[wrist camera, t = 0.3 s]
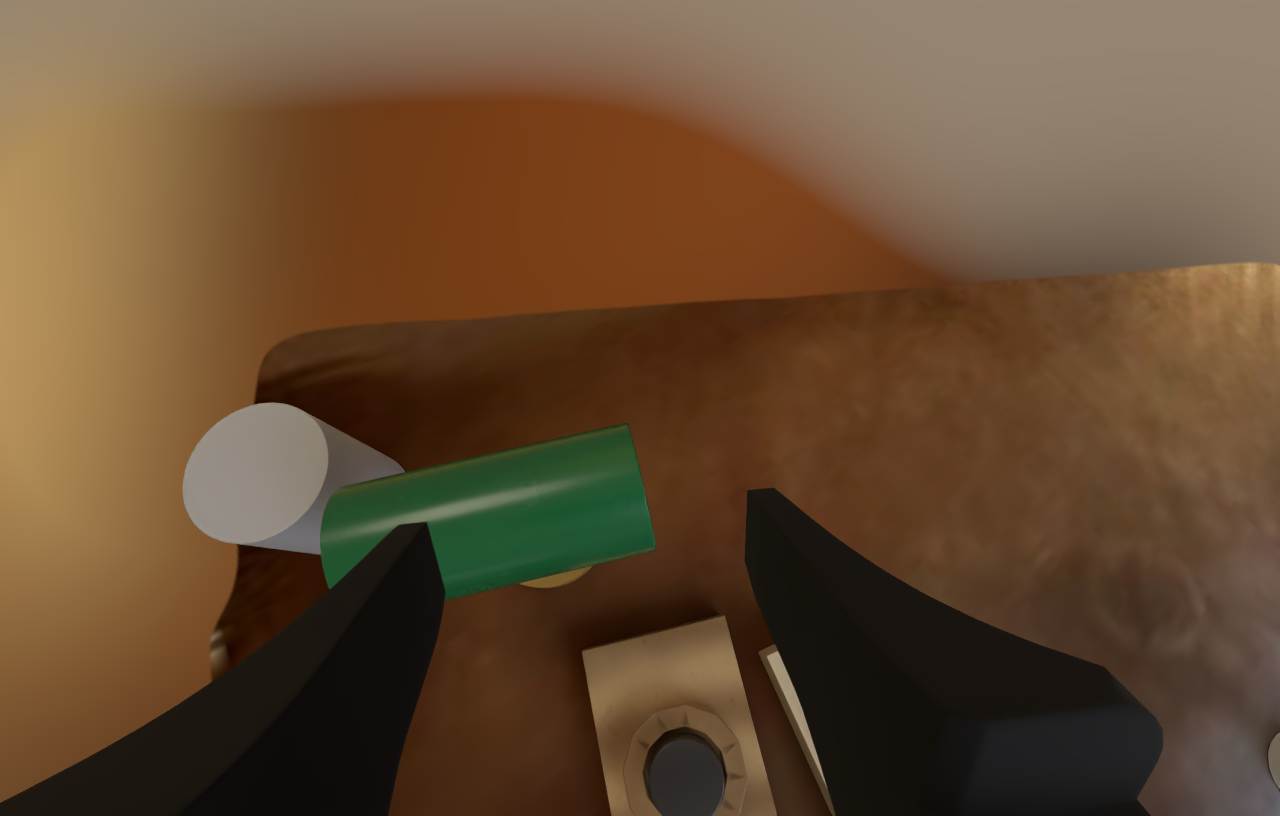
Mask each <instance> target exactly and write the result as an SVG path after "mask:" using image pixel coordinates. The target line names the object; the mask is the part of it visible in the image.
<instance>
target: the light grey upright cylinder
mask: <svg viewBox="0 0 1280 816" xmlns="http://www.w3.org/2000/svg"><path fill="white" fill-rule="evenodd" d="M404 472H405V470H404V469H403V468H402V467H401V466H400V465H399V464H398V463H397V462H396V461H394V460H393V459H391V458H389V457H388V456H386V455H384V454H382V453H380V452H378V451H376V450H375V449H373V448H371V447H369V446H367V445H365V444H363V443H362V442H360V441H358V440H356V439H354V438H352V437H350V436H349V435H347V434H345V433H343V432H341V431H339V430H337V429H336V428H334V427H332V426H330V425H328V424H326V423H325V422H323V421H321V420H319V419H317V418H315V417H313V416H312V415H310V414H308V413H306V412H304V411H302V410H300V409H298V408H296V407H293V406H290V405H287V404H282V403H262V404H256V405H252V406H248V407H245V408H242V409H240V410H238V411H236V412H233V413H232V414H230V415H228V416H227V417H225V418H223V419H222V420H221V421H219V422H218V423H217V424H216V425H215V426H213V427H212V428H211V429H210V430H209V431H208V432H207V433H206V434H205V435H204V436H203V438H202V439H201V440H200V441H199V443H198V444H197V446H196V447H195V449H194V451H193V453H192V454H191V457H190V459H189V461H188V463H187V466H186V470H185V474H184V479H183V499H184V503H185V507H186V510H187V512H188V514H189V516H190V518H191V520H192V521H193V522H194V524H195V525H196V526H197V527H198V528H199V529H200V530H201V531H202V532H204V533H205V534H207V535H208V536H210V537H212V538H214V539H217V540H219V541H222V542H228V543H234V544H242V545H250V546H258V547H265V548H273V549H281V550H289V551H297V552H305V553H312V554H320V555H321V549H320V531H321V522H322V517H323V513H324V509H325V507H326V504H327V502H328V500H329V498H330V497H331V495H332V494H333V493H334V492H335V491H336V490H337V489H339V488H340V487H342V486H346V485H351V484H355V483H360V482H364V481H368V480H373V479H377V478H382V477H386V476H391V475H395V474H400V473H404Z"/></svg>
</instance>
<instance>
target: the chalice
mask: <svg viewBox="0 0 1280 816" xmlns="http://www.w3.org/2000/svg"><path fill="white" fill-rule="evenodd" d="M1268 761H1269V768H1270V771H1271V774H1272V777H1273V779H1274V782H1275V783H1276V785H1277V786H1278V788H1279V789H1280V732H1279V733H1277V735H1276V736H1275V737H1274V739H1273V740H1272V741H1271V743H1270V747H1269V751H1268Z"/></svg>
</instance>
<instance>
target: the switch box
mask: <svg viewBox="0 0 1280 816" xmlns="http://www.w3.org/2000/svg"><path fill="white" fill-rule="evenodd" d="M582 656H583V661H584V667H585V673H586V678H587V684H588V689H589V695H590V700H591V706H592V711H593V717H594V722H595V728H596V733H597V739H598V744H599V750H600V756H601V761H602V767H603V772H604V778H605V783H606V789H607V794H608V800H609V805H610V811H611V816H662V815H661V813H660V812H659V811H658V810H657V808H656V807H655V805H654V803H653V801H652V798H651V795H650V791H649V764H650V759H651V756H652V754H653V752H654V750H655V748H656V747H657V746H658V744H659V743H660V742H661V741H662V740H663V739H665V738H666V737H668V736H670V735H672V734H675V733H679V732H689V733H693V734H696V735H698V736H700V737H702V738H703V739H705V740H706V741H707V742H708V743H709V744H710V745H711V747H712V748H713V749H714V751H715V753H716V755H717V757H718V759H719V761H720V764H721V766H722V769H723V773H724V781H725V786H724V794H723V798H722V801H721V803H720V806H719V807H718V809H717V811H716V812H715V813H714V815H713V816H777V812H776V808H775V804H774V801H773V797H772V793H771V789H770V785H769V782H768V778H767V774H766V770H765V766H764V763H763V759H762V755H761V751H760V747H759V744H758V740H757V736H756V732H755V728H754V725H753V721H752V717H751V713H750V709H749V706H748V702H747V698H746V694H745V690H744V687H743V683H742V679H741V675H740V671H739V668H738V664H737V660H736V656H735V652H734V649H733V645H732V641H731V637H730V633H729V630H728V626H727V622H726V618H725V616H724V615H716V616H712V617H708V618H704V619H700V620H696V621H692V622H688V623H684V624H680V625H676V626H672V627H668V628H664V629H660V630H656V631H652V632H648V633H644V634H640V635H636V636H632V637H628V638H624V639H620V640H616V641H612V642H608V643H604V644H600V645H596V646H592V647H588V648H585V649H584V650H583V651H582Z"/></svg>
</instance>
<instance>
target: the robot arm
mask: <svg viewBox="0 0 1280 816" xmlns="http://www.w3.org/2000/svg"><path fill="white" fill-rule="evenodd" d="M745 563H746V567H747V571H748V574H749V578H750V581H751V585H752V588H753V591H754V595H755V598H756V601H757V603H758V606H759V608H760V611H761V613H762V615H763V618H764V620H765V622H766V625H767V627H768V629H769V632H770V634H771V636H772V639H773V641H774V643H775V645H776V648H777V650H778V652H779V655H780V657H781V659H782V661H783V664H784V666H785V668H786V671H787V673H788V675H789V678H790V680H791V682H792V684H793V687H794V689H795V692H796V694H797V697H798V699H799V702H800V705H801V707H802V710H803V713H804V716H805V719H806V722H807V725H808V728H809V731H810V735H811V738H812V741H813V744H814V747H815V750H816V753H817V756H818V759H819V763H820V766H821V769H822V773H823V776H824V779H825V782H826V786H827V789H828V792H829V795H830V799H831V802H832V805H833V809H834V812H835V816H1150V814H1149V813H1148V812H1147V811H1146V810H1145V809H1144V807H1143V806H1142V805H1141V804H1140V803H1139V801H1138V800H1137V799H1136V798H1137V797H1138V795H1139V793H1140V791H1141V790H1142V788H1143V786H1144V784H1145V783H1146V781H1147V779H1148V777H1149V776H1150V774H1151V772H1152V770H1153V769H1154V767H1155V765H1156V764H1157V762H1158V759H1159V756H1160V754H1161V751H1162V749H1163V730H1162V727H1161V726H1160V724H1159V722H1158V721H1157V719H1156V718H1155V717H1154V716H1153V715H1152V714H1151V713H1150V712H1149V711H1148V710H1147V709H1146V708H1145V707H1144V706H1143V705H1142V704H1141V703H1140V702H1139V701H1138V700H1137V699H1136V698H1135V697H1134V696H1133V695H1132V694H1131V693H1130V692H1129V691H1128V690H1127V689H1126V688H1125V687H1124V686H1123V685H1122V684H1121V683H1120V682H1119V681H1118V680H1117V679H1116V678H1115V677H1114V676H1113V675H1112V674H1111V673H1110V672H1109V671H1108V670H1107V669H1106V668H1105V667H1103V666H1100V665H1097V664H1094V663H1091V662H1088V661H1085V660H1082V659H1079V658H1076V657H1073V656H1070V655H1068V654H1065V653H1062V652H1059V651H1056V650H1053V649H1050V648H1047V647H1044V646H1041V645H1038V644H1036V643H1033V642H1030V641H1028V640H1025V639H1023V638H1020V637H1018V636H1015V635H1013V634H1010V633H1008V632H1005V631H1003V630H1000V629H998V628H996V627H993V626H991V625H989V624H986V623H984V622H982V621H979V620H977V619H975V618H973V617H970V616H968V615H966V614H964V613H962V612H960V611H958V610H956V609H954V608H952V607H950V606H948V605H946V604H944V603H941V602H939V601H937V600H935V599H934V598H932V597H930V596H928V595H926V594H924V593H922V592H920V591H918V590H917V589H915V588H913V587H911V586H910V585H908V584H906V583H905V582H903V581H901V580H899V579H898V578H896V577H894V576H892V575H891V574H889V573H887V572H886V571H884V570H883V569H881V568H879V567H878V566H876V565H875V564H873V563H872V562H870V561H869V560H867V559H866V558H864V557H863V556H861V555H860V554H858V553H857V552H856V551H854V550H853V549H851V548H850V547H848V546H847V545H846V544H844V543H843V542H841V541H840V540H839V539H837V538H836V537H835V536H833V535H832V534H831V533H829V532H828V531H827V530H826V529H824V528H823V527H822V526H820V525H819V524H818V523H817V522H815V521H814V520H813V519H812V518H810V517H809V516H808V515H807V514H805V513H804V512H803V511H802V510H800V509H799V508H798V507H797V506H796V505H794V504H793V503H792V502H791V501H790V500H788V499H787V498H786V497H785V496H783V495H782V494H781V493H780V492H778V491H777V490H776V489H775V488H766V489H756V490H748V491H747V515H746V540H745ZM445 594H446V591H445V587H444V584H443V580H442V576H441V572H440V569H439V565H438V561H437V557H436V554H435V550H434V546H433V543H432V539H431V535H430V531H429V528H428V524H427V522H419V523H409V524H399V525H398V526H397V527H395V528H394V529H393V530H392V531H391V532H390V533H389V534H388V535H387V536H386V537H385V538H383V539H382V540H381V541H380V542H379V543H378V544H377V545H376V546H375V547H374V548H373V549H372V550H371V551H370V552H369V553H368V554H367V555H366V556H365V557H364V558H363V559H362V560H361V561H360V562H359V563H358V564H357V565H355V566H354V567H353V568H352V569H351V570H350V571H349V572H348V573H347V574H346V575H345V576H344V577H343V578H342V579H341V580H340V581H339V582H337V583H336V584H335V585H334V586H333V587H332V588H331V589H330V590H329V591H328V592H327V593H325V594H324V595H323V596H322V597H321V598H320V599H318V600H317V601H316V602H315V603H314V604H313V605H312V606H310V607H309V608H308V609H307V610H306V611H305V612H304V613H302V614H301V615H300V616H299V617H298V618H297V619H296V620H294V621H293V622H292V623H291V624H290V625H288V626H287V627H286V628H285V629H284V630H282V631H281V632H280V633H279V634H277V635H276V636H275V637H274V638H272V639H271V640H270V641H268V642H267V643H266V644H265V645H263V646H262V647H261V648H259V649H258V650H256V651H255V652H254V653H252V654H251V655H250V656H248V657H247V658H246V659H244V660H243V661H242V662H240V663H239V664H238V665H236V666H235V667H233V668H232V669H231V670H229V671H228V672H226V673H225V674H223V675H222V676H220V677H219V678H217V679H216V680H214V681H213V682H211V683H210V684H208V685H207V686H205V687H204V688H202V689H201V690H199V691H198V692H196V693H195V694H193V695H192V696H191V697H189V698H187V699H186V700H184V701H183V702H181V703H180V704H178V705H177V706H175V707H173V708H172V709H171V710H169V711H167V712H165V713H164V714H162V715H160V716H159V717H157V718H156V719H154V720H152V721H151V722H149V723H147V724H146V725H144V726H142V727H141V728H139V729H137V730H136V731H134V732H132V733H130V734H129V735H127V736H125V737H123V738H122V739H120V740H118V741H116V742H115V743H113V744H111V745H109V746H108V747H106V748H104V749H102V750H101V751H99V752H97V753H95V754H93V755H92V756H90V757H88V758H86V759H84V760H82V761H81V762H79V763H77V764H75V765H73V766H71V767H69V768H67V769H65V770H63V771H61V772H59V773H57V774H56V775H54V776H52V777H50V778H48V779H46V780H44V781H42V782H40V783H38V784H36V785H34V786H33V787H31V788H29V789H27V790H25V791H23V792H21V793H19V794H17V795H15V796H13V797H11V798H9V799H7V800H5V801H3V802H1V803H0V816H388V812H389V807H390V803H391V798H392V794H393V789H394V784H395V780H396V775H397V770H398V766H399V761H400V757H401V754H402V750H403V746H404V743H405V739H406V736H407V732H408V729H409V726H410V723H411V720H412V717H413V714H414V711H415V707H416V704H417V701H418V698H419V695H420V692H421V689H422V686H423V683H424V679H425V676H426V673H427V670H428V667H429V664H430V660H431V657H432V654H433V651H434V648H435V644H436V641H437V638H438V634H439V628H440V623H441V618H442V612H443V606H444V600H445Z"/></svg>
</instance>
